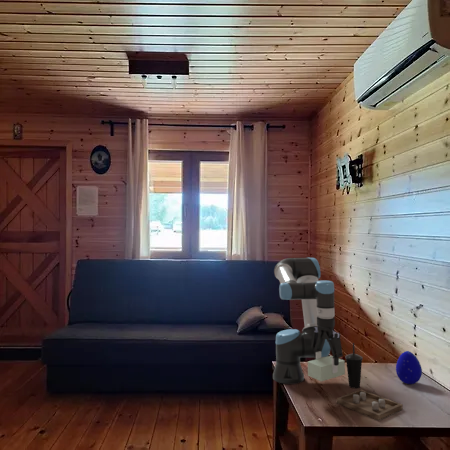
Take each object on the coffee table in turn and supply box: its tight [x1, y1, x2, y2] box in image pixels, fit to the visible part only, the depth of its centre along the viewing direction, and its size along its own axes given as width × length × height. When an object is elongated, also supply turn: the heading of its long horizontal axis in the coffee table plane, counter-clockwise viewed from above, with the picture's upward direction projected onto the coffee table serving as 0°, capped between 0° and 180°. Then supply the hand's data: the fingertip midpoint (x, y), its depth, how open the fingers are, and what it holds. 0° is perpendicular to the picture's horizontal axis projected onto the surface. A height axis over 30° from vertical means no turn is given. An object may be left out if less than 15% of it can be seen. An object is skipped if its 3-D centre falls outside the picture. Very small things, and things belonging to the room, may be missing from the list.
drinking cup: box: [345, 342, 363, 389], centre depth 189 cm, size 8×8×20 cm
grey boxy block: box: [307, 355, 346, 382], centre depth 176 cm, size 14×8×6 cm, turn 122°
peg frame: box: [336, 388, 404, 422], centre depth 168 cm, size 20×16×4 cm
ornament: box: [395, 350, 423, 385], centre depth 192 cm, size 11×9×15 cm
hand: (326, 369), depth 176 cm, fingers closed on grey boxy block, 8 cm apart
